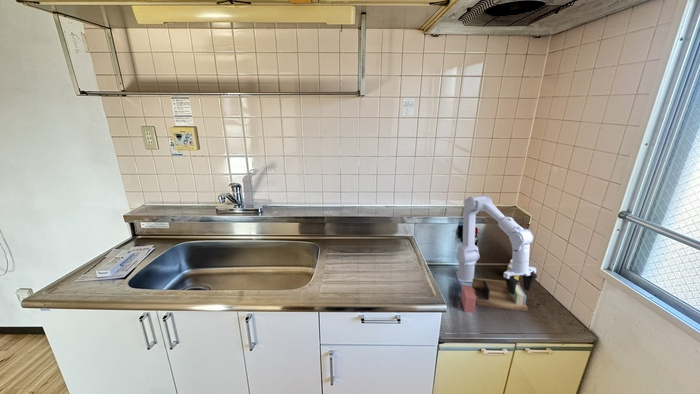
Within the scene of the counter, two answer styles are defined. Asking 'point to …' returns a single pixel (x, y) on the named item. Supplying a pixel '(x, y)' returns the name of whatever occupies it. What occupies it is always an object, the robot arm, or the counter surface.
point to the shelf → (496, 294)
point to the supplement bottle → (510, 268)
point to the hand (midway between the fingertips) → (519, 291)
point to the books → (519, 296)
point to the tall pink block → (468, 299)
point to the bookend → (483, 292)
